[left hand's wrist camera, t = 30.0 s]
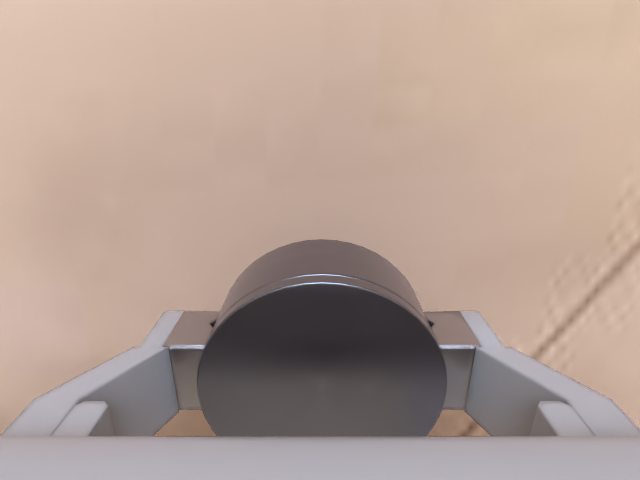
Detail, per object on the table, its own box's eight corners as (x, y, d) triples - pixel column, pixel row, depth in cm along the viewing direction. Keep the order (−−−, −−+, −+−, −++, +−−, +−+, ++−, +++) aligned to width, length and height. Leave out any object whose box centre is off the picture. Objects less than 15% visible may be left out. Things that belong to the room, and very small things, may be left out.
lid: (289, 433, 12) (283, 509, 10) (180, 299, 10) (143, 356, 8) (453, 360, 11) (485, 427, 9) (362, 199, 9) (376, 233, 7)
